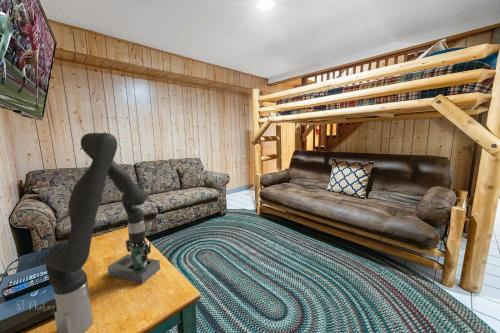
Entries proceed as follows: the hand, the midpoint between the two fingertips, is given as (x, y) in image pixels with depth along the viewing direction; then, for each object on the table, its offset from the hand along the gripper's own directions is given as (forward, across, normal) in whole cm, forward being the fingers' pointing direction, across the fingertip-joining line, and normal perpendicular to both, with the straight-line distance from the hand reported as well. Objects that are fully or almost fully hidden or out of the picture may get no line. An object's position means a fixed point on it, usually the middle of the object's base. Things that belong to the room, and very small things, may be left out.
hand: (139, 260), depth 108 cm
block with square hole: (+8, -4, 0) cm, 9 cm away
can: (+7, 0, 0) cm, 7 cm away
